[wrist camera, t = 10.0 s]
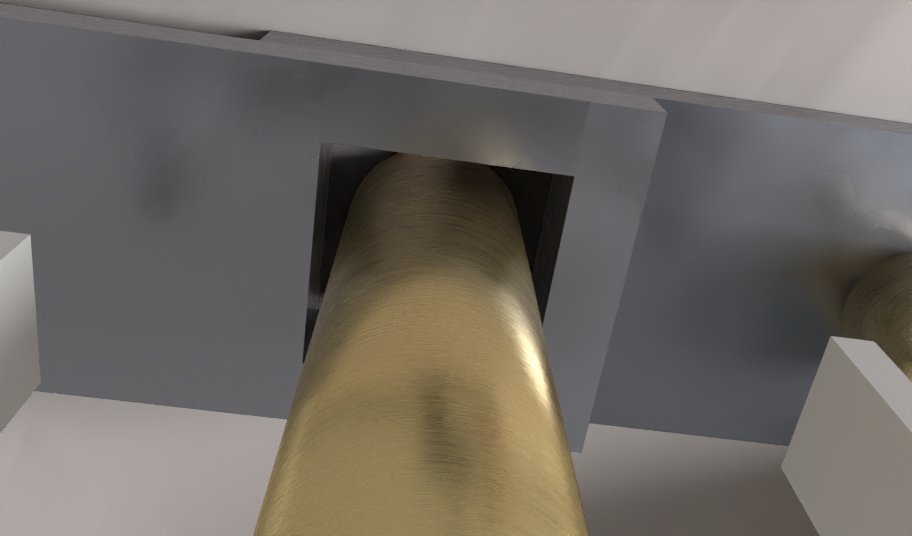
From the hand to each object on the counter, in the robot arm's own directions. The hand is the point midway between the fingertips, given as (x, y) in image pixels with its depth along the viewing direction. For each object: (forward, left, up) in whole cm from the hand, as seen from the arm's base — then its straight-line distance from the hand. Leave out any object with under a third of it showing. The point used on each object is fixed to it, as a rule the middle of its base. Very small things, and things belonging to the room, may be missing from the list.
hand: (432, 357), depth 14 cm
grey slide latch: (0, 0, -6) cm, 6 cm away
